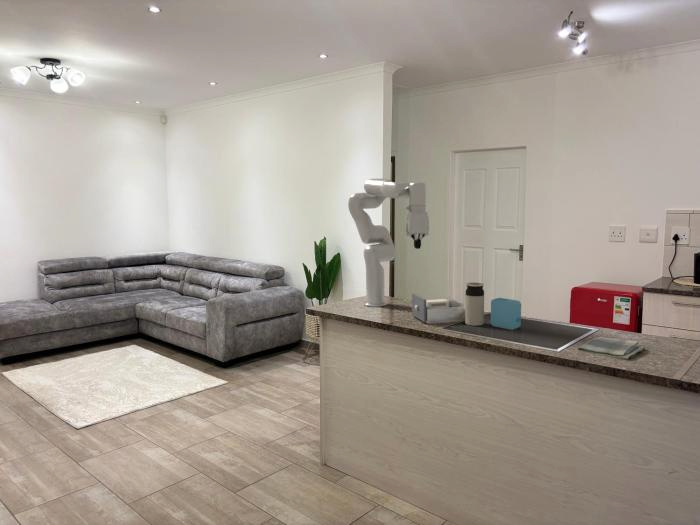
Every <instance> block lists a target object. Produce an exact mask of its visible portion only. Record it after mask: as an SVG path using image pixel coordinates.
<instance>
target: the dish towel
mask: <svg viewBox="0 0 700 525" xmlns="http://www.w3.org/2000/svg"><path fill="white" fill-rule="evenodd" d="M577 351H580V352H585V353H590V354H595V355H599V356H603V357H609V358H612V359H613V358H614V359H619V360H624V361H629V359H630V360H631V359H632V358H634V357H636V356H638V355H640V354H641V353H642V352H643V351H646V347H645V346H639V341H637V340H636V341H635V340H626V339H619V338H610V337H603V336H602V337H601V336H598V337H597V336H596V337H594V338H592V339H591V340H587V341H586V342H585V343H583V344H581V345H580V346H579V347H577Z"/></svg>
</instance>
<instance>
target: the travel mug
mask: <svg viewBox="0 0 700 525" xmlns="http://www.w3.org/2000/svg"><path fill="white" fill-rule="evenodd" d="M464 303H465V304H464V305H465V307H464V308H465V309H464V310H465V312H464V315H465V316H464V319H465V320H464V323H465V324H466V325H467V326H472V327H476V326H478V327H479V326H482V325H484V324H485V289H484V283H483V282H474V281H473V282H466V289H465V302H464Z"/></svg>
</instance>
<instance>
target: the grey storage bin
mask: <svg viewBox="0 0 700 525" xmlns="http://www.w3.org/2000/svg"><path fill="white" fill-rule="evenodd" d="M446 300H448V301H449V307H451V308H437V309H426V322H424V323H425V325H426V324H427V325H432V324H434V325H435V324H446V323H457V322H465V320H464V319H465V316H464V315H465V312H464V310H465V309H464V308H465V307H464V305H465V304H464V303H463V302H461V301H458V300H456V299H454V298H451V297H449V296H448V297H447V298H446Z"/></svg>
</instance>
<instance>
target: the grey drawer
mask: <svg viewBox="0 0 700 525" xmlns="http://www.w3.org/2000/svg"><path fill="white" fill-rule="evenodd" d="M426 300H427V299H426V298H423V297H422V296H420V295H418V294H416V293H411V315H412V316H414V317H415V318H417V319H418V320H420V321H422V323H425V322H426ZM449 308H451V307H449Z"/></svg>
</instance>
